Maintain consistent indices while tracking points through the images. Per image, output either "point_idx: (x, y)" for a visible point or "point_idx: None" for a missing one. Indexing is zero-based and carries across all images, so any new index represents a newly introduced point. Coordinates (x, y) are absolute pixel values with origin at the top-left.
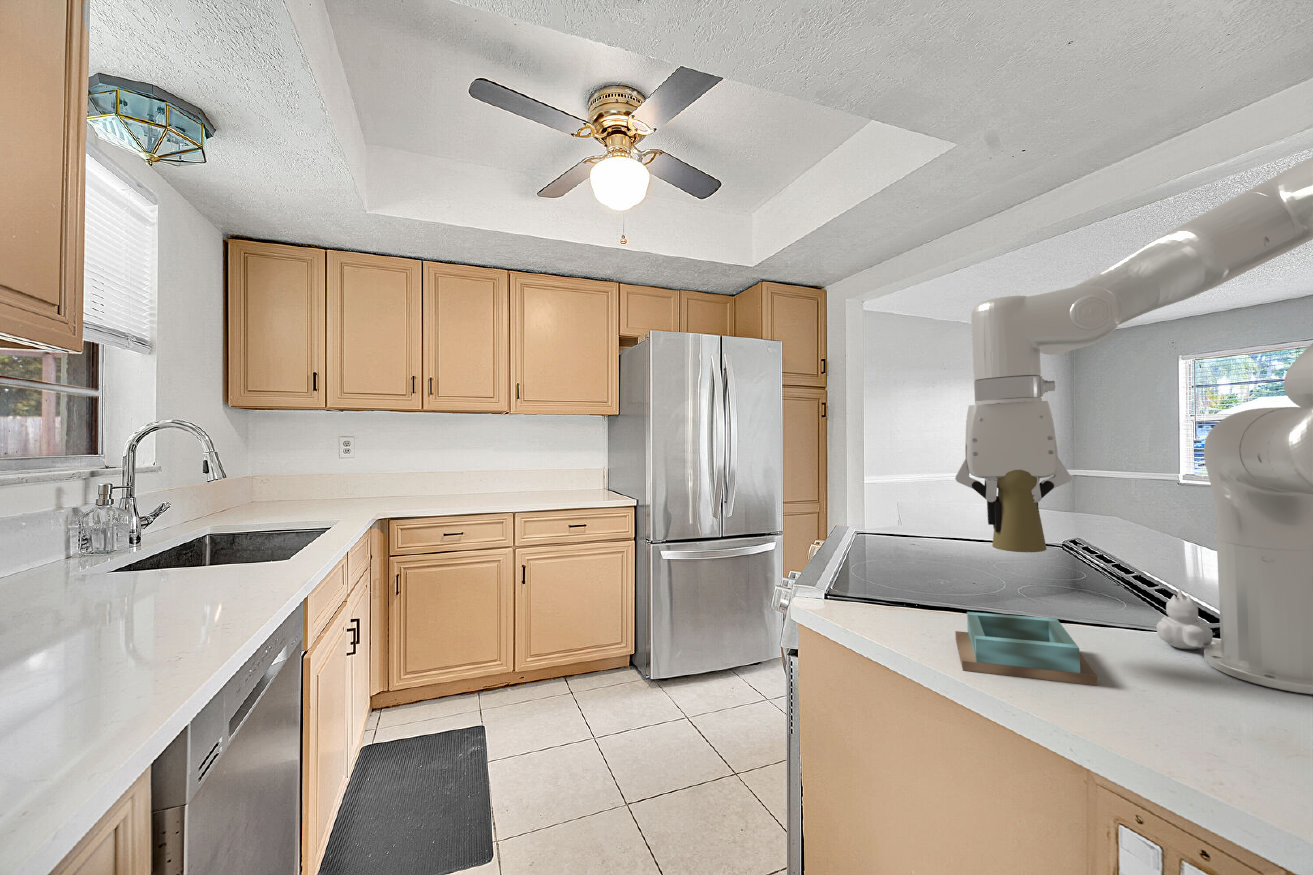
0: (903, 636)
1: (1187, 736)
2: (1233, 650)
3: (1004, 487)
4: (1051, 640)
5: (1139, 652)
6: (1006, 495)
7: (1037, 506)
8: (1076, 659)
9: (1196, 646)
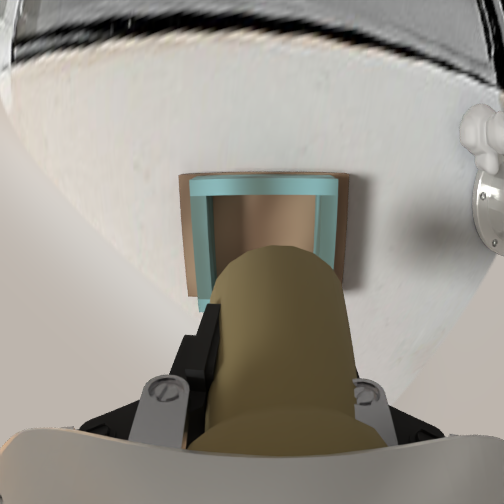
0: (111, 187)
1: (367, 367)
2: (497, 215)
3: None
4: (316, 207)
5: (424, 160)
6: None
7: None
8: None
9: (479, 169)
